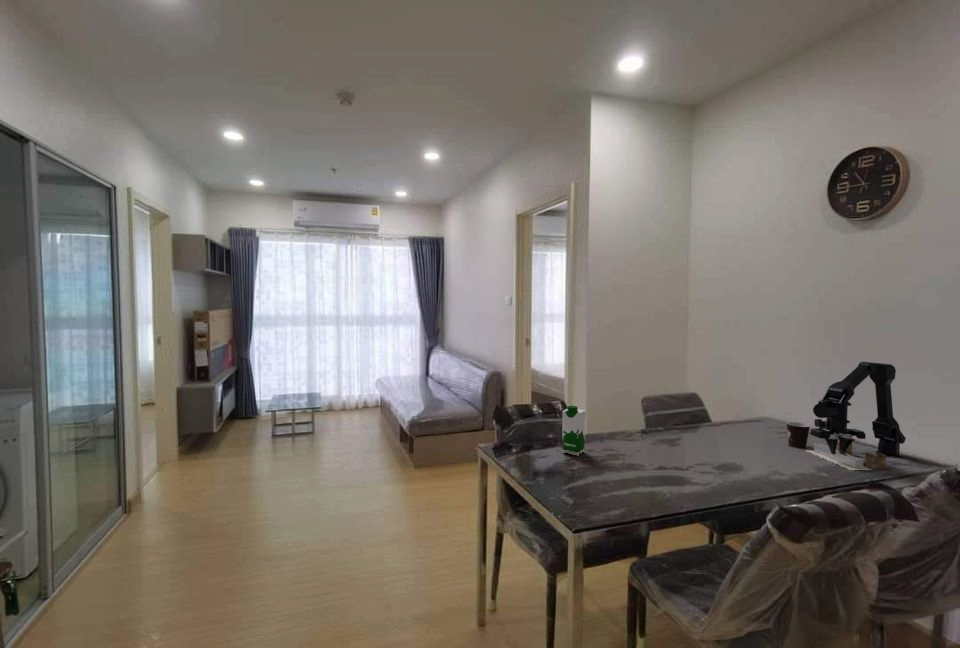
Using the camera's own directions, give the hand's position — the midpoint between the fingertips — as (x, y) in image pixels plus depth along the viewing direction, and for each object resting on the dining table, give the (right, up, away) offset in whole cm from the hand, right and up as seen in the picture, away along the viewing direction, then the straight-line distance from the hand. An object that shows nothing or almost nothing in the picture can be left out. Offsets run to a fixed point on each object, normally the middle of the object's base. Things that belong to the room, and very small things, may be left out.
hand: (836, 454), depth 188 cm
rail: (0, -2, 0) cm, 2 cm away
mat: (0, -2, 0) cm, 2 cm away
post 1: (+9, -2, +8) cm, 12 cm away
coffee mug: (-2, -2, +20) cm, 20 cm away
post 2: (+9, -3, -8) cm, 12 cm away
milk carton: (-107, -1, +5) cm, 107 cm away
